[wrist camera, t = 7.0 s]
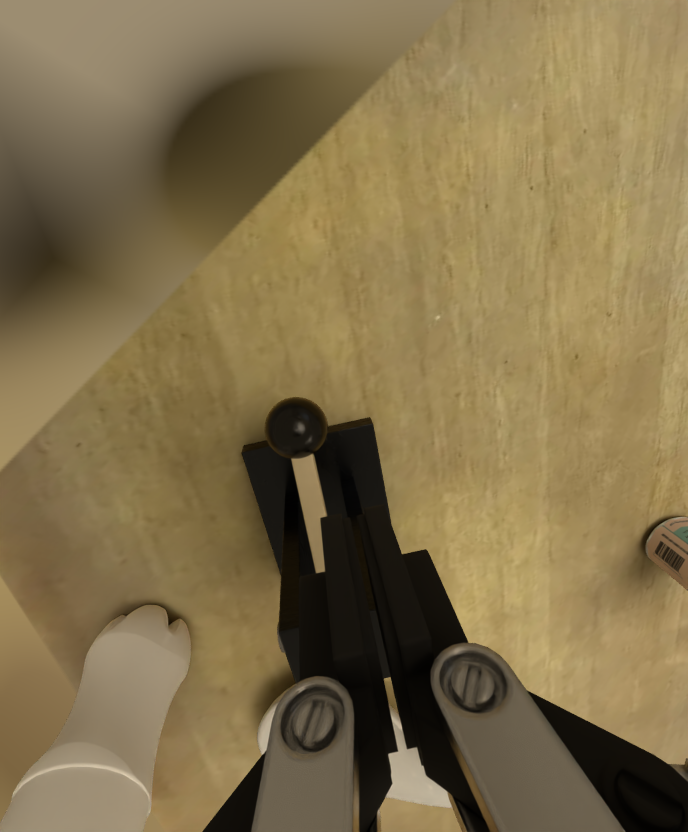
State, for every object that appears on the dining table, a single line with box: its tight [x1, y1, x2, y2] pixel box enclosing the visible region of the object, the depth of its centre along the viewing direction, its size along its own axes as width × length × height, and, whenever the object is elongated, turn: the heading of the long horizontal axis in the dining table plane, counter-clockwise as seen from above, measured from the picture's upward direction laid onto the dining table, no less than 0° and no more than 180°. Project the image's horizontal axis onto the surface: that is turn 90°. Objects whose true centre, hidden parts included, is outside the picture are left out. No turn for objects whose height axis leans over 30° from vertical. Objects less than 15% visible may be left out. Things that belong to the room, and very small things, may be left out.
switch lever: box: [265, 397, 328, 573], centre depth 21 cm, size 13×3×3 cm, turn 11°
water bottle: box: [0, 605, 191, 832], centre depth 22 cm, size 7×7×25 cm
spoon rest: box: [257, 684, 452, 808], centre depth 36 cm, size 24×12×7 cm, turn 74°
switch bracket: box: [242, 417, 391, 684], centre depth 25 cm, size 12×9×13 cm
